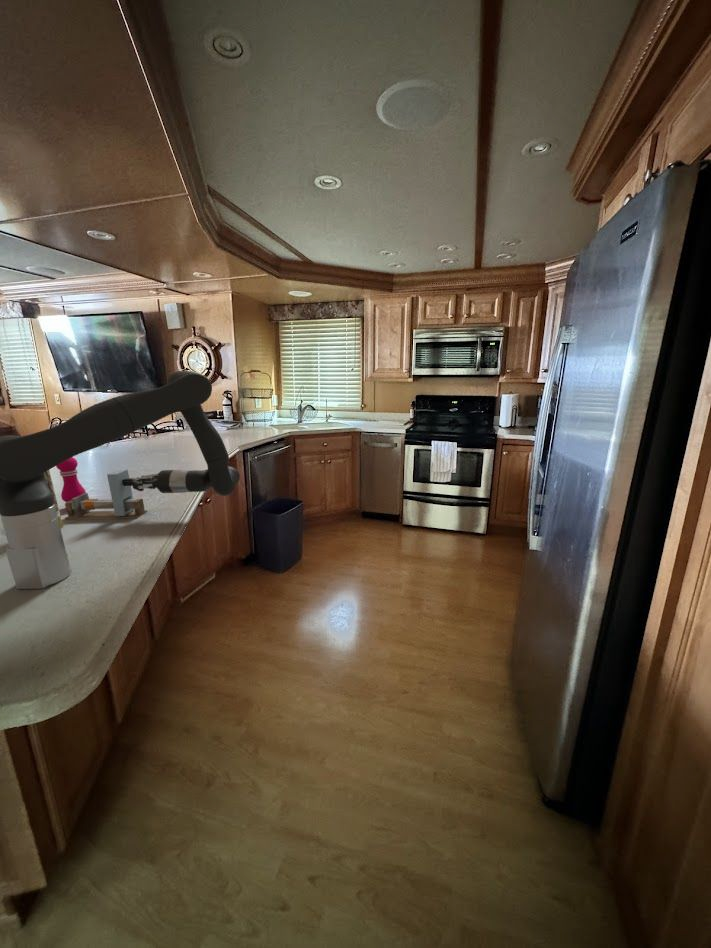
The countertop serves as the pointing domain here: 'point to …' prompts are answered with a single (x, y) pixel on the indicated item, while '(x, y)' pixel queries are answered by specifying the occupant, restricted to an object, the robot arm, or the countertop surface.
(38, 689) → the countertop surface
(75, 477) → the pepper mill
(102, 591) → the countertop surface
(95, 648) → the countertop surface
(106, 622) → the countertop surface
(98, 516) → the rail
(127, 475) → the light blue block
